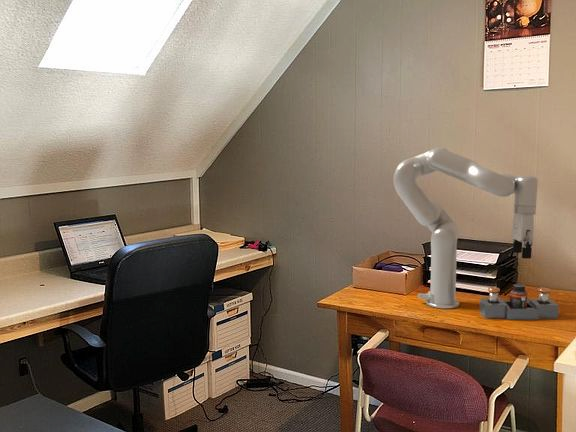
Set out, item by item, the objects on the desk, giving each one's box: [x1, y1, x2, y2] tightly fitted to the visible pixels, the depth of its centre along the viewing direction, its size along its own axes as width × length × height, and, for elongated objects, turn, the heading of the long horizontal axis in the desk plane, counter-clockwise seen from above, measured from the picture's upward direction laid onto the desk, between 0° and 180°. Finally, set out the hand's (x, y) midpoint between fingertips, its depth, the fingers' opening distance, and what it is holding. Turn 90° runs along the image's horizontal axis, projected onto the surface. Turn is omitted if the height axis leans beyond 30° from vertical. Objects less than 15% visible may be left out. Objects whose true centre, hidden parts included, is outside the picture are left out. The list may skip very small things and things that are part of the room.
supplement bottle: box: [509, 283, 528, 308], centre depth 228 cm, size 6×6×11 cm
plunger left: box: [487, 286, 501, 303], centre depth 228 cm, size 4×4×6 cm
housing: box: [478, 298, 560, 321], centre depth 228 cm, size 26×11×5 cm, turn 87°
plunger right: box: [537, 287, 551, 304], centre depth 227 cm, size 4×4×6 cm
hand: (521, 255), depth 230 cm, fingers open, 9 cm apart
